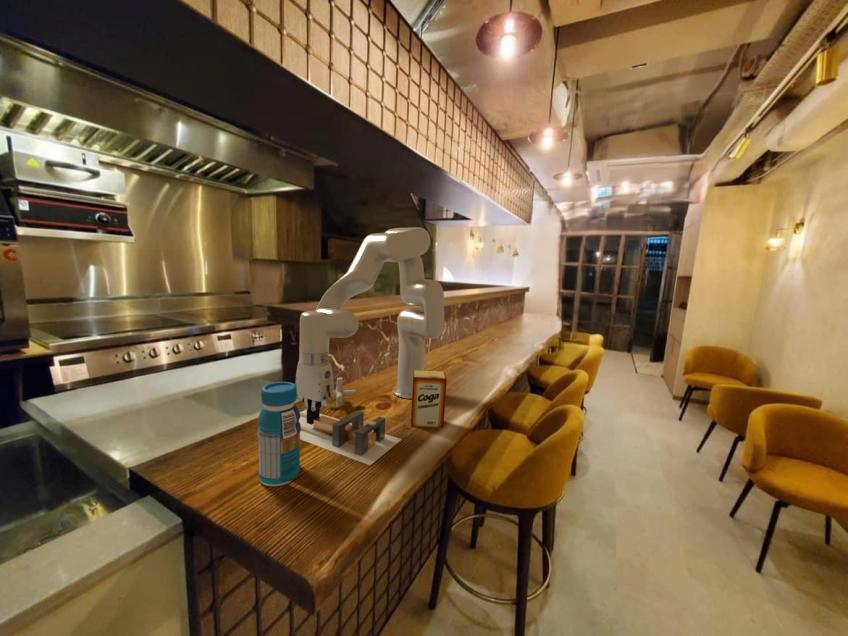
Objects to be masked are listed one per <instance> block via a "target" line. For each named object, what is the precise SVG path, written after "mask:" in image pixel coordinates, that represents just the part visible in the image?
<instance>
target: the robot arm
mask: <svg viewBox="0 0 848 636" xmlns="http://www.w3.org/2000/svg"><path fill="white" fill-rule="evenodd" d="M430 246H431V237H430V234H429V232H428V230H426V229H425V228H424V227H413V226H412V227H394V228H390V229H388V230H386V231H384V232H378V233H377V232H376V233H371V234H369V235H366V237H365V238H364V239H363V241H362V243H361V244H360V247H359V249H358V251H357V252H356V254H355V256H354V258H353V261H352V262H351V263H350V266H349V267H348V270H347V272H346V273H345V274H344V275H343V276H341V277H340V278H339V279H338V280H337V281H335V282H334V283H333V284H331V286H330V287H329V288H328V289H327V290H326V291H325V292H324V294H323V295H322V297H321V299H319V300H320V301H319V302H318V304H317V306H316V308H315V310H308V311H304V312H302V313H301V314H300V316H299V348H298V349H299V359H298V362H297V366H296V373H295V374H296V375H295V385H296V388H297V398H298V399H300V400H301V401H302V402H303V404H304V408H305V410H306V409H307V423H308V424H311V425H312V424H314V419H316V418H318V417H320V414H321V413H320V412H321V408H322V407H327V406H329V405H330V404H331V402H330V398H333V394H334V391H335V390H334V389H335V388H334V387H335V386H334V385H335V383H334V373H333V367H332V364H331V362H330V361H331V359H332V358H331V356H330V338H339V339H341V338H342V339H343V338H349V337H351V336H353V335H354V334H356V332H357V331H358V329H359V325H360V322H359V319H358V317H357V316H356V315H355V313H353V312H351V311H348V310H343V309H342V307H343V306H344V304H345V303H347V301H348V300H350V299H351V298H353V297H354V296H357V295H359V294H360V295H361V293H365V292H366V291H368V290H370V289H371V288H373V286H374V285H375V283H376V280H377V278H378V276H379V274H380V272H381V270H382V269H383V266H384V264H385V263H397V266H398V268H399V269H398V270H399V288H400V289H399V290H400V293H399V294H400V299H401V301H402V303H403V304H406V305H409V306H415V307H419V308H420V307H422V308H423V309H419V308H412V307H409V308H404V309H403V310H401V311H400V312H399V314H398V315H397V318H396V319H397V320H396V326H397V332H398V334H397V335H398V357H397V378H396V379H397V380H396V386H394V387H392V394H393V393H394V394H395V395H394V394H393V395H394V396H396V397H398V396H399V397H398V398H401V397H402V398H401V399H409V400H410V399H411V400H412V386H413V370H418V371H425V370H424V369H425V368H424V366H425V351H426V350H425V349H426V346H425V342H424V339H423V338H426V339H430V340H431V339H432V340H433V339H437V338H439V337H440V336H441V335H442V333H443V332H444V328H445V327H444V325H445V294H444V288H443V287H442V284H441V283H440V282H438V281H437V280H433V279H425V269H424V268H425V267H424V262H423V260H422V257H421V256H422V255H424V254H426V253H427V252H428V250H429V249H430Z"/></svg>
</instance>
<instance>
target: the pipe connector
mask: <svg viewBox="0 0 848 636" xmlns="http://www.w3.org/2000/svg"><path fill="white" fill-rule="evenodd" d="M343 380H344V379H343V377H337V378H336V387H335V389H336V390H334V394H333V397H336V401H335V403H336V404H335V405H336V406H337V407H342V406H343V400H344V399H343V397H350V396H356V395H357V394H356V393H357V392H356V389H345V390H343V389H344V388H343V385H344V384H343V383H344V381H343ZM333 397H332V398H333Z"/></svg>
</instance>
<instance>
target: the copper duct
mask: <svg viewBox="0 0 848 636" xmlns="http://www.w3.org/2000/svg"><path fill="white" fill-rule="evenodd" d="M323 415H324V414H323ZM323 415H322V416H320V417H318V418H316V419H314V430H315V431H318V432H321V433H324V434H326V435H329V436H332V426H333V424H334V423H336V422H337V421H338V420H335V419H332V418H333V417H332V418H329V417H330V416H329V417H326V416H327V415H326V416H323ZM359 429H360V427H357V426H354V425H351V424H348V425H347V426H345V442H346V443H349V444H352V445H355V431H357V430H359ZM375 444H376V432H373V431H371V432H370V433H368V449H367V450H369V449H370V448H371V447H373V446H374V445H375Z"/></svg>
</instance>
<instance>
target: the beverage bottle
mask: <svg viewBox="0 0 848 636" xmlns="http://www.w3.org/2000/svg"><path fill="white" fill-rule="evenodd" d="M260 391H261V393H260V394H261V395H260V397H261V403H262V405H263V407H262V409H261V410H260V412H259V415H258V417H257V424H258V425H259V426H258V428H257V433H256V435H257V439H258V480H259V482H260V483H261V484H262V485H264V486H267V487H281V486H285V485H287V484H290V483H291V482H292V479H294V478H295V477H296V476H297V475H298V474H299V473H300V471H301V464H300V463H301V462H300V457H301V455H300V453H301V440H300V432H301V424H300V422H299V419H300V412H301V411H300V409H299V408H298V406H297V405H296V404H295V403H296V402H297V398H298V395H297V388H296V383H293V382H290V381H289V382H288V381H278V382H277V381H275V382H272V383H271V382H269V383H268V384H265V385H264V386H262V387H261V390H260Z"/></svg>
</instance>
